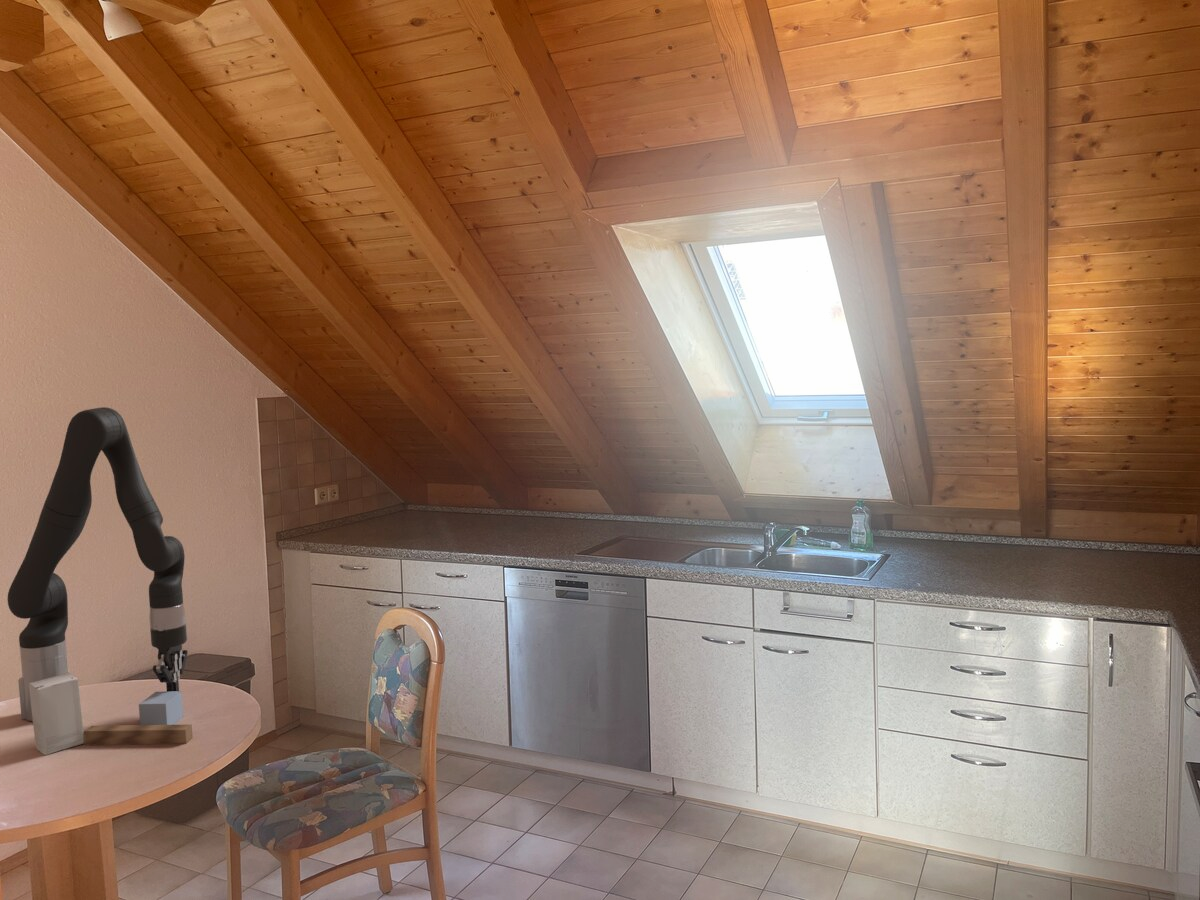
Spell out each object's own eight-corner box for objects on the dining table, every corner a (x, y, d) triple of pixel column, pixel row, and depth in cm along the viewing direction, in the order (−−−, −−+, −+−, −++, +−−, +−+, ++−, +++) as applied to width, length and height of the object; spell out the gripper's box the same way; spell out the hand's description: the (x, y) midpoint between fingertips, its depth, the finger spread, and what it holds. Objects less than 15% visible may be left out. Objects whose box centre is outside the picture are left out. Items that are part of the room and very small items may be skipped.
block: (140, 730, 214) (138, 704, 213) (157, 716, 222) (155, 691, 221) (167, 729, 214) (165, 703, 213) (183, 716, 222) (181, 691, 221)
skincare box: (75, 737, 211) (70, 671, 209) (85, 744, 207) (80, 677, 205) (33, 749, 205) (27, 681, 203) (42, 756, 201) (37, 687, 199)
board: (85, 744, 206) (84, 731, 206) (93, 739, 209) (91, 725, 209) (186, 743, 206) (185, 729, 205) (192, 737, 209) (191, 724, 208)
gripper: (165, 616, 228) (170, 687, 230) (137, 632, 215) (143, 707, 217) (196, 615, 228) (201, 686, 230) (171, 631, 215) (176, 707, 217)
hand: (173, 696), depth 223 cm, fingers closed
